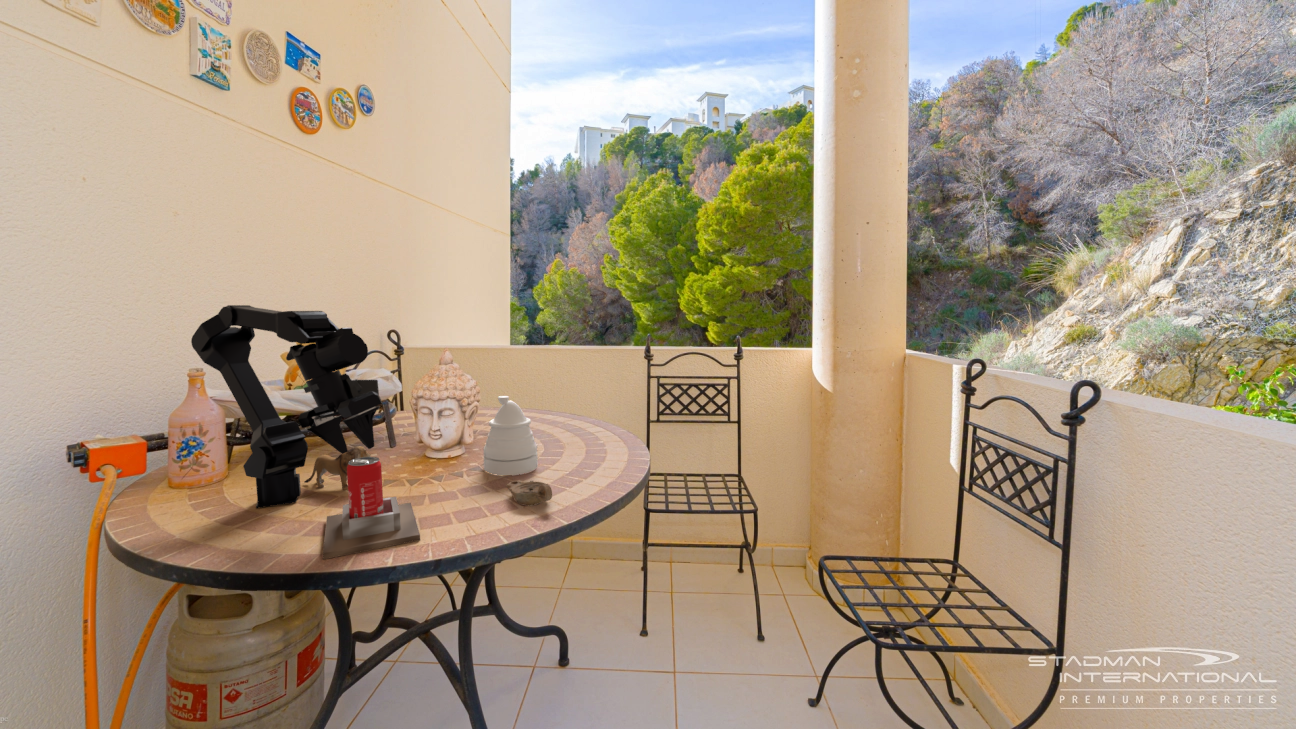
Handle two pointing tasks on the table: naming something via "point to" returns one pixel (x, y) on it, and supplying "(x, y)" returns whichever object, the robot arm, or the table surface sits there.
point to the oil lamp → (530, 492)
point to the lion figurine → (336, 465)
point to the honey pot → (510, 442)
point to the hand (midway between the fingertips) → (357, 450)
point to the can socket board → (370, 530)
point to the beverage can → (365, 487)
